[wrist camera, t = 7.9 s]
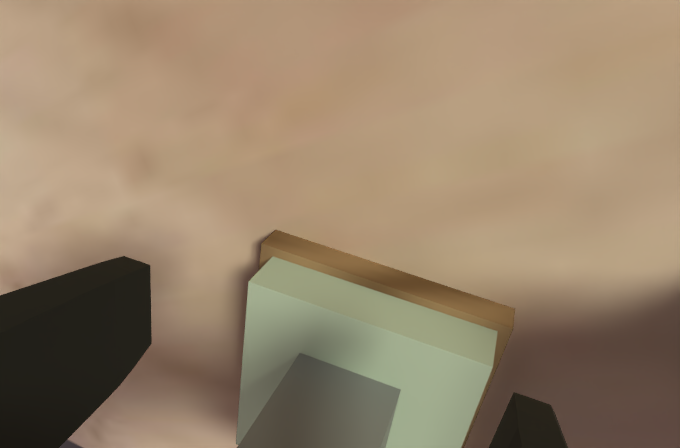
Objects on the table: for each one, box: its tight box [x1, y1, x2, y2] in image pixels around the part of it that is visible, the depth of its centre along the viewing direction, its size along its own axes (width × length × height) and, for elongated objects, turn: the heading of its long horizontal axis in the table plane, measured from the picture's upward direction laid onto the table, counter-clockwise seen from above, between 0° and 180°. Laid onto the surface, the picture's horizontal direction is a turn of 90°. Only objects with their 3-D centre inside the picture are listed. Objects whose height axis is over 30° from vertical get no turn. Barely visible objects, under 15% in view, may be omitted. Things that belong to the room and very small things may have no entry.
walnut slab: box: [259, 230, 515, 448], centre depth 23 cm, size 10×10×2 cm
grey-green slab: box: [236, 257, 498, 448], centre depth 21 cm, size 9×9×2 cm
